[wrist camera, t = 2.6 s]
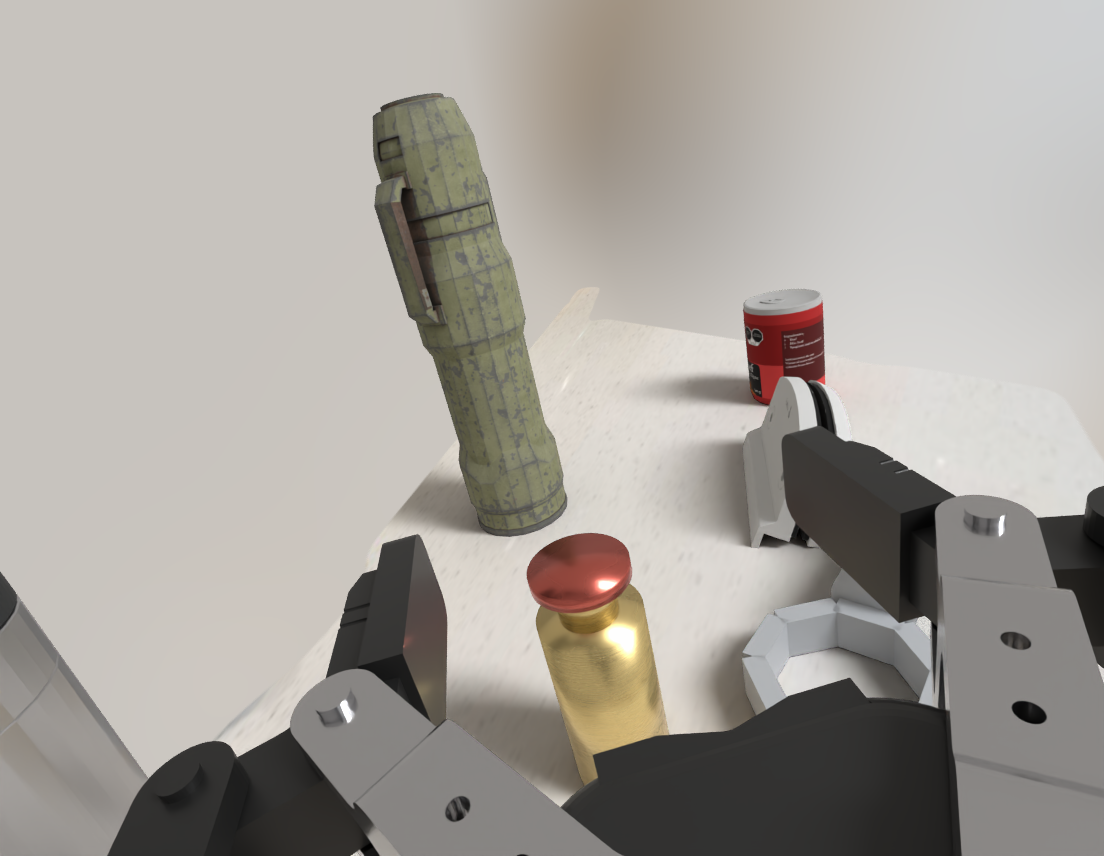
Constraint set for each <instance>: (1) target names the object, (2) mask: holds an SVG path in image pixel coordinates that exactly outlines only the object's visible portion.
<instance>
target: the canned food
mask: <svg viewBox="0 0 1104 856" xmlns="http://www.w3.org/2000/svg"><path fill="white" fill-rule="evenodd" d="M743 312H744V324H745V336H746V347H747V358H748V368H749V379H750V389H751V392H752V394H753V396H754V398H755V399H756V400H757V401H759V402H761V403H764V404H767V405H770V402H771V399H772V397H773V394H774V391H775V388H776V386H777V383H778V381H779V379H780V377H799V378H801V379H802V380H804V381H805V382H809V380H813V381H817V382H820V383H822V384H824V385H825V360H824V330H823V329H824V327H823V303H822V295H821V293H820V292H817V291H814V290H807V289H789V290H779V291H773V292H768V293H763V294H760V295H757V296H754V297H752V298H750V299H748V300H746V301H745V302H744V309H743Z"/></svg>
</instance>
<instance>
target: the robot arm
mask: <svg viewBox="0 0 1104 856" xmlns="http://www.w3.org/2000/svg"><path fill="white" fill-rule="evenodd" d="M781 449H782V462H783V475H784V488H785V499H786V504H787V507H788V510H789V512H790V515H791V517H792V518H793V520H794V522H795V523H796V524H797V525H798V526H799V527H800V528H801V529H802V530H803V531H804V532H805V533H806V534H807V535H808V536H809V537H810V538H811V539H812V540H813V541H814V542H815V543H816V544H817V545H818V546H819V547H821V548H822V549H823V550H824V551H825V552H826V553H827V554H828V555H829V556H830V557H831V558H832V559H833V560H834V561H835V562H836V563H837V564H838V565H839V566H840V567H841V568H842V569H843V570H844V571H845V572H846V573H847V574H849V575H850V576H851V577H852V578H853V579H854V580H855V581H856V582H857V583H858V584H859V585H860V586H861V587H862V588H863V589H864V590H865V591H866V592H867V593H868V594H869V595H870V596H871V597H872V598H873V599H874V600H875V601H877V602H878V603H879V604H880V605H881V606H882V607H883V608H884V609H885V610H886V611H887V612H888V613H889V614H890V615H891V616H892V617H893V618H894V619H895V620H896V621H897V622H898V623H902V622H905V621H908V620H912V619H915V618H919V617H922V616H926V617H927V618H928V619H929V620H930V621H931V630H930V645H931V675H932V705H933V706H930V705H926V704H922V703H917V702H913V701H908V700H900V699H893V698H866V697H865V696H864V694H863V693H862V692H861V691H860V689H859V688H858V687H857V686H856V685H855V683H854V682H853V681H852V680H851V678H847V679H844V680H841V681H837V682H834V683H831V684H827V685H824V686H821V687H817V688H814V689H811V690H807V691H804V692H801V693H797V694H794V695H791V696H788V697H786V698H784V699H783V700H781V701H779V702H778V703H776V704H774V705H773V706H771V707H769V708H768V709H766V710H765V711H763V712H761V713H760V714H758V715H756V716H755V717H753V718H751V719H750V720H748V721H747V722H745V723H743V724H742V725H740V726H738V727H737V728H735V729H733V730H729V731H724V732H708V733H691V734H675V735H658V736H654V737H650V738H647V739H644V740H640V741H637V742H634V743H630V744H627V745H624V746H620V747H617V748H614V749H610V750H607V751H604V752H600V753H597V754H594V755H593V759H594V763H595V767H596V772H597V776H598V778H596V779H594V780H593V781H591V782H590V783H588V784H586V785H585V786H584V787H582V788H581V789H580V790H579V791H577V792H576V793H575V794H574V795H572V796H571V797H570V798H569V799H568V800H567V801H566V802H565V803H564V804H563V805H562V806H561V807H559V806H558V805H557V804H555V803H554V802H553V801H552V800H550V799H549V798H548V797H547V796H545V795H544V794H543V793H542V792H541V791H539V790H538V789H537V788H536V787H534V786H533V785H532V784H531V783H529V782H528V781H527V780H526V779H524V778H523V777H522V776H521V775H519V774H518V773H517V772H516V771H515V770H513V769H512V768H511V767H510V766H508V765H507V764H506V763H505V762H503V761H502V760H501V759H500V758H498V757H497V756H496V755H495V754H493V753H492V752H491V751H490V750H489V749H487V748H486V747H485V746H484V745H482V744H481V743H480V742H479V741H477V740H476V739H475V738H474V737H472V736H471V735H470V734H469V733H467V732H466V731H465V730H464V729H463V728H461V727H460V726H459V725H457V724H456V723H455V722H453V721H451V720H449V719H446V673H447V614H446V608H445V603H444V599H443V595H442V592H441V590H440V587H439V584H438V581H437V579H436V576H435V573H434V570H433V568H432V565H431V562H430V559H429V557H428V554H427V551H426V548H425V546H424V543H423V541H422V539H421V537H420V535H418V534H416V535H413V536H409V537H405V538H402V539H398V540H394V541H391V542H387V543H384V544H383V545H382V548H381V553H380V558H379V563H378V568H377V570H374V571H370V572H367V573H364V574H362V575H361V577H360V578H359V579H358V581H357V582H356V583H355V585H354V586H353V587H352V588H351V590H350V591H349V593H348V597H347V600H346V604H345V608H344V614H343V615H342V619H341V623H340V629H339V630H338V634H337V638H336V641H335V645H334V649H333V653H332V656H331V660H330V664H329V668H328V672H327V675H326V679H324V680H323V681H321V682H320V683H318V684H317V685H315V686H314V687H313V688H312V689H311V690H309V691H308V692H307V693H306V694H305V695H304V697H303V698H302V699H301V700H300V701H299V703H298V704H297V706H296V708H295V709H294V712H293V714H292V717H291V721H290V728H289V729H287V730H286V731H284V732H283V733H281V734H279V735H277V736H276V737H274V738H272V739H270V740H268V741H267V742H265V743H263V744H261V745H259V746H257V747H255V748H254V749H252V750H250V751H248V752H246V753H244V754H243V755H241V756H239V757H237V756H236V754H235V753H234V751H233V750H232V748H231V747H230V746H229V745H228V744H226V743H224V742H220V741H212V742H205V743H202V744H199V745H196V746H193V747H191V748H189V749H187V750H185V751H183V752H181V753H180V754H178V755H176V756H175V757H173V758H172V759H170V760H169V761H168V762H166V763H165V764H164V765H163V766H161V767H160V768H159V769H158V770H157V771H156V772H155V773H154V774H153V775H152V776H151V777H150V778H149V779H148V777H147V776H146V774H145V773H144V772H143V770H142V769H141V767H140V766H139V765H138V763H137V762H136V760H135V759H134V758H133V756H132V755H131V753H130V752H129V751H128V749H127V748H126V747H125V745H124V744H123V742H122V741H121V739H120V738H119V737H118V735H117V734H116V732H115V731H114V730H113V728H112V727H111V725H110V724H109V723H108V721H107V720H106V718H105V717H104V716H103V714H102V713H101V711H100V710H99V709H98V707H97V706H96V704H95V703H94V702H93V700H92V699H91V697H90V696H89V695H88V693H87V692H86V690H85V689H84V687H83V686H82V685H81V683H80V682H79V680H78V679H77V678H76V677H75V675H74V673H73V672H72V671H71V669H70V668H69V666H68V665H67V664H66V662H65V661H64V659H63V658H62V657H61V655H60V654H59V652H58V651H57V650H56V648H55V647H54V646H53V644H52V643H51V641H50V640H49V639H48V637H47V636H46V634H45V633H44V632H43V630H42V629H41V627H40V626H39V625H38V623H37V622H36V620H35V619H34V617H33V616H32V615H31V613H30V612H29V610H28V609H27V608H26V606H25V605H24V604H23V602H22V601H21V599H20V598H19V597H18V595H17V594H16V592H15V591H14V590H13V588H12V587H11V586H10V584H9V583H8V581H7V580H6V579H5V577H4V576H3V575H2V574H1V572H0V856H351V855H352V854H354V853H355V852H358V854H359V855H360V856H1104V683H1103V680H1102V677H1101V674H1100V671H1099V668H1098V664H1099V665H1100V666H1101V667H1103V668H1104V486H1102V487H1098V488H1096V489H1094V490H1093V491H1091V492H1090V493H1089V495H1088V496H1087V503H1086V509H1085V515H1073V516H1058V517H1043V518H1036V516H1035V515H1034V514H1033V513H1032V512H1031V511H1030V510H1028V509H1027V508H1025V507H1023V506H1022V505H1019V504H1017V503H1015V502H1012V501H1009V500H1006V499H1002V498H998V497H992V496H984V495H965V496H958V497H956V496H955V495H953V494H951V493H950V492H948V491H946V490H945V489H943V488H941V487H940V486H938V485H936V484H935V483H933V482H931V481H930V480H928V479H926V478H925V477H923V476H921V475H920V474H918V473H916V472H915V471H913V470H908V467H906V466H905V465H903V464H901V463H900V462H898V461H894V460H893V458H891V457H890V456H888V455H886V454H885V453H883V452H881V451H880V450H878V449H877V448H875V447H871V446H868V445H864V444H861V443H857V442H854V441H844V440H843V439H841V438H839V437H838V436H836V435H835V434H833V433H831V432H830V431H828V430H827V429H825V428H824V427H822V426H815V427H812V428H808V429H804V430H801V431H797V432H793V433H790V434H786V435H784V437H783V438H782V443H781Z"/></svg>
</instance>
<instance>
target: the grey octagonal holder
mask: <svg viewBox="0 0 1104 856" xmlns="http://www.w3.org/2000/svg"><path fill="white" fill-rule="evenodd" d="M917 619H918V618H915V619H912V620H908V621H905V622H902V623H898V622H897V621H896V620H895V619H894V618H893V617H892V616H891V615H890V614H889V613H888V612H887V611H886V610H885V609H884V608H883V607H882V606H881V605H880V604H879V603H878V602H877V601H875V600H874V599H873V598H872V597H871V596H870V595H869V594H868V593H867V592H866V591H865V590H864V589H863V588H862V587H861V586H860V585H859V584H858V583H857V582H856V581H855V580H854V579H853V578H852V577H851V576H850V575H849V574H847V573H846V572H845V571H844V570H843V569H841V571H840V573H839V574H838V576H837V578H836V579H835V581H834V583H833V585H832V587H831V598H826V599H821V600H817V601H812V602H808V603H803V604H798V605H794V606H789V607H784V608H780V609H775V610H774V615H771V614H767V616H766V617H765V619H764V620H763V622H762V623H761V625H760V626H759V628H758V629H757V631H756V632H755V634H754V635H753V637H752V638H751V640H750V641H749V643H748V644H747V646H746V647H745V649H744V650H743V652H742V655H743V658H742V664H743V673H744V681H745V690H746V695H747V697H748V699H749V701H750V703H751V706H752V708H753V710H754V712H755V714H756V715H758V714H760V713H761V712H763V711H765V710H766V709H768V708H769V707H771V706H773V705H774V704H776V703H778V702H779V701H781V700H783V699H784V698H786V695H785V693H784V691H783V689H782V687H781V685H780V684H779V682H778V680H777V678H778V676H779V674H780V672H781V671H782V669H783V667H784V665H785V664H786V662H787V660H788V659H789V657H792V656H797V655H802V654H806V653H811V652H816V651H820V650H825V649H830V648H834V647H841V648H844V649H846V650H849V651H852V652H855V653H858V654H861V655H864V656H867V657H870V658H873V659H876V660H879V661H881V662H884V663H887V664H890V665H893V666H895V668H896V669H897V670H898V672H899V673H900V674H901V675H902V677H903V678H904V679H905V680H906V682H907V683H908V684H909V686H910V687H911V688H912V689H913V691H914V692H915V693H916V694H917V696H918V697H919V698H920V700H919V703H922V704H926V705H930V706H933V705H932V675H931V645H930V639H929V638H928V637H927V636H926V634H925V633H924V632H923V631H922V630H921V629H920V628H919V627H918V626H917V625H916V621H917Z"/></svg>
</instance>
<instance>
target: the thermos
mask: <svg viewBox="0 0 1104 856" xmlns="http://www.w3.org/2000/svg"><path fill="white" fill-rule="evenodd" d="M373 152H374V160H375V163H376V166H377V170H378V173H379V176H380V179H381V184H379V185H377V187H376V196H375V205H374V206H375V210H376V213H377V215H378V219H379V222H380V225H381V229H382V232H383V235H384V238H385V241H386V244H387V247H388V251H389V254H390V257H391V260H392V263H393V267H394V270H395V273H396V276H397V279H398V282H399V285H400V288H401V292H402V295H403V298H404V302H405V305H406V308H407V312H408V315H409V317H410V318H412V319H413V320H415V321H416V323H417V327H418V330H419V333H420V336H421V339H422V343H423V346H424V347H425V348H426V349H427V350H428V352H429V353H430V354H431V355H432V356H433V359H434V362H435V365H436V368H437V372H438V375H439V378H440V381H441V384H442V388H443V391H444V394H445V397H446V401H447V404H448V408H449V411H450V414H451V417H452V420H453V424H454V427H455V430H456V434H457V437H458V440H459V443H460V450H459V464H460V468H461V471H462V474H463V477H464V481H465V484H466V487H467V490H468V493H469V497H470V500H471V503H472V504H473V505H474V506H475V507H476V510H477V515H478V519H479V523H480V526H481V527H482V528H483V529H484V530H485V531H486V532H488V533H491V534H494V535H497V536H516V535H524V534H527V533H530V532H534V531H537V530H540V529H541V528H543V527H545V526H547V525H549V524H551V523H553V522H554V521H555V520H556V519H557V518H559V517H560V516H561V515H562V513H563V512H564V510H565V509H566V507H567V496H566V493H565V491H564V486H563V471H562V467H561V463H560V459H559V454H558V450H557V446H556V442H555V438H554V436H553V435H552V433H551V432H550V430H549V429H548V427H547V426H546V424H545V421H544V417H543V413H542V409H541V405H540V401H539V396H538V392H537V388H536V384H535V380H534V376H533V371H532V367H531V363H530V359H529V355H528V351H527V346H526V342H525V338H524V334H523V330H524V325H525V319H526V318H525V314H524V310H523V305H522V301H521V297H520V293H519V288H518V285H517V280H516V276H515V271H514V267H513V263H512V259H511V257H510V255H509V253H508V252H507V250H506V248H505V246H504V245H503V243H502V239H501V235H500V231H499V227H498V222H497V218H496V214H495V210H494V206H493V202H492V198H491V193H490V189H489V185H488V181H487V177H486V176H485V174H484V172H483V171H482V167H481V163H480V159H479V154H478V150H477V146H476V142H475V138H474V134H473V132H472V131H471V129H470V127H469V125H468V123H467V121H466V119H465V118H464V116H463V114H462V112H461V110H460V109H459V107H458V105H457V103H456V102H455V100H454V99H453V98H451V97H447V98H446V97H444V96H443V94H441V93H432V94H424V95H417V96H413V97H408V98H404V99H400V100H397V101H394V102H391V103H388V104H386V105H383V106H382V107H381V112H379V113H376V114H375V115H374V116H373Z"/></svg>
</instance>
